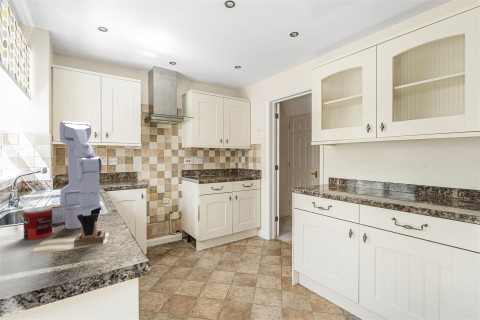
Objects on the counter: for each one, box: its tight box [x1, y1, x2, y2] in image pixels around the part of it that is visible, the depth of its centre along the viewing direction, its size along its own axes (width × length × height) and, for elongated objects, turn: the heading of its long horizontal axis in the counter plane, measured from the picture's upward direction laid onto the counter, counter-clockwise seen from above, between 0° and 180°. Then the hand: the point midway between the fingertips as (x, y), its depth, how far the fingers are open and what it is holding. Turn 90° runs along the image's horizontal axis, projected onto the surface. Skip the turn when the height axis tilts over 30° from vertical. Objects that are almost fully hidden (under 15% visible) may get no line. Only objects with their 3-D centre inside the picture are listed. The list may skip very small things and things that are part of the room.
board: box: [27, 229, 110, 257], centre depth 77 cm, size 14×20×3 cm
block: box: [80, 220, 98, 239], centre depth 78 cm, size 4×4×6 cm
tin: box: [43, 204, 65, 226], centre depth 101 cm, size 15×3×8 cm, turn 141°
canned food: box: [22, 206, 53, 241], centre depth 83 cm, size 8×8×11 cm
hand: (90, 231), depth 79 cm, fingers open, 7 cm apart
